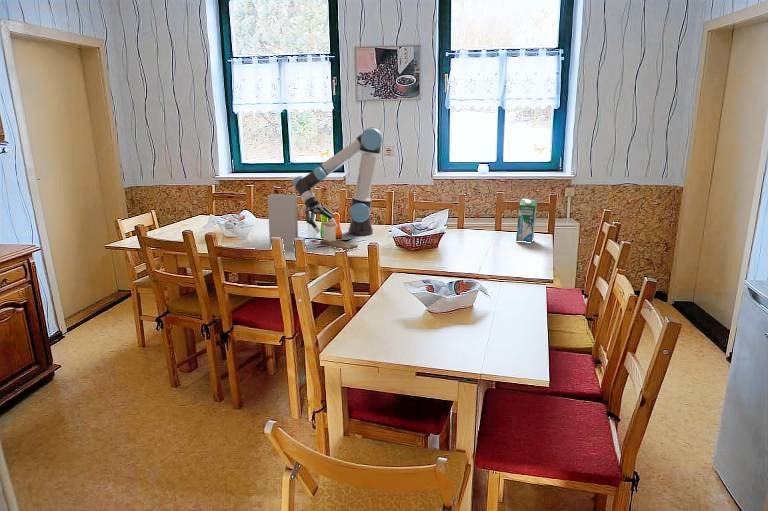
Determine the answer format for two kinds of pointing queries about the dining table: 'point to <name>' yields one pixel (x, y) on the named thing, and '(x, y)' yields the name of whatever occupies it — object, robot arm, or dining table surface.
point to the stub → (329, 231)
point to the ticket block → (338, 244)
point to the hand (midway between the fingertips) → (328, 229)
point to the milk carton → (526, 220)
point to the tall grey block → (283, 219)
